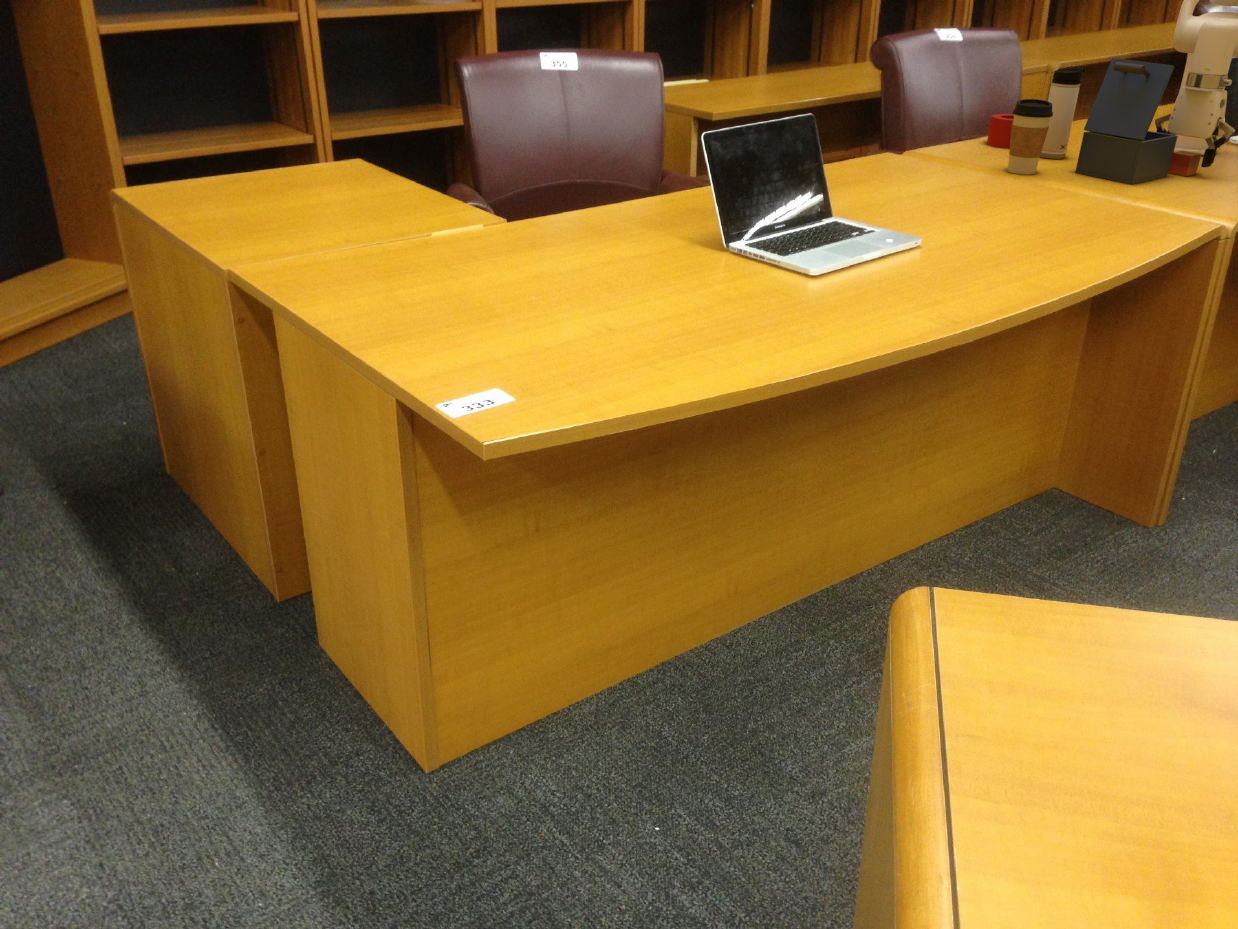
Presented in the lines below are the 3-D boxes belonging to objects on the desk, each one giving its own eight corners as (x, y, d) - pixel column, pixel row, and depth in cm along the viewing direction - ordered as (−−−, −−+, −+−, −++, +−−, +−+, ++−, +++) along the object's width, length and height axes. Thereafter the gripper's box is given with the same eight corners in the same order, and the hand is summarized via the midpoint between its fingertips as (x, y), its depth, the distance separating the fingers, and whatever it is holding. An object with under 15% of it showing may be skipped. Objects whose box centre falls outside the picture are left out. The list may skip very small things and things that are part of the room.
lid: (1113, 59, 227) (1102, 50, 223) (1174, 66, 218) (1164, 58, 214) (1085, 130, 231) (1073, 123, 227) (1143, 140, 222) (1132, 133, 218)
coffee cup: (1041, 169, 237) (1055, 100, 230) (1041, 177, 230) (1055, 105, 223) (1002, 166, 240) (1014, 97, 233) (1001, 173, 233) (1014, 103, 226)
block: (1176, 170, 239) (1182, 150, 237) (1196, 174, 236) (1201, 153, 234) (1166, 172, 237) (1171, 152, 235) (1186, 176, 234) (1191, 155, 231)
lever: (982, 145, 261) (987, 117, 258) (991, 139, 268) (996, 112, 265) (1058, 154, 253) (1064, 125, 250) (1065, 147, 260) (1071, 120, 257)
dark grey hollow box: (1110, 165, 243) (1119, 125, 239) (1167, 176, 233) (1177, 135, 229) (1075, 172, 235) (1083, 132, 231) (1132, 184, 226) (1142, 142, 221)
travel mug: (1068, 160, 247) (1087, 70, 238) (1039, 158, 248) (1057, 68, 239) (1064, 154, 253) (1082, 66, 243) (1035, 153, 254) (1052, 65, 244)
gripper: (1254, 86, 223) (1231, 168, 231) (1175, 76, 235) (1155, 155, 243) (1237, 87, 219) (1214, 171, 227) (1158, 78, 231) (1138, 158, 239)
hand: (1184, 162), depth 235 cm, fingers open, 9 cm apart
